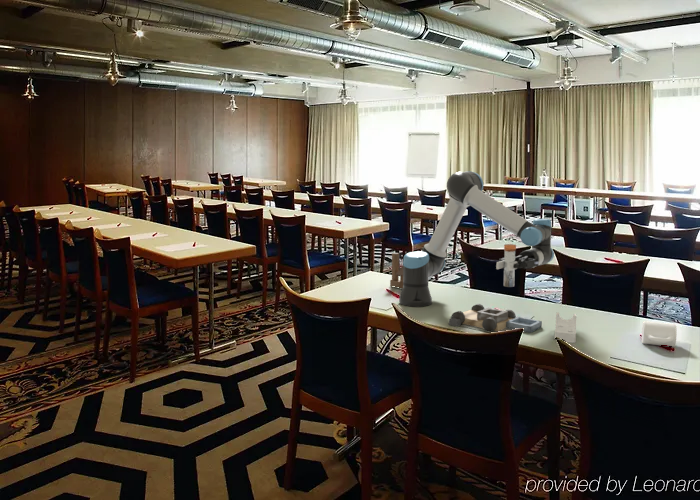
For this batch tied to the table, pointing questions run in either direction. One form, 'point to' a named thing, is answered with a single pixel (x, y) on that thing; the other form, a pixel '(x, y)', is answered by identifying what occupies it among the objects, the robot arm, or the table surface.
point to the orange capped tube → (508, 258)
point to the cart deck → (478, 323)
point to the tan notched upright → (396, 272)
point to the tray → (524, 324)
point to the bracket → (566, 328)
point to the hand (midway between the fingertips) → (502, 266)
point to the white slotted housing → (659, 333)
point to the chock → (454, 322)
